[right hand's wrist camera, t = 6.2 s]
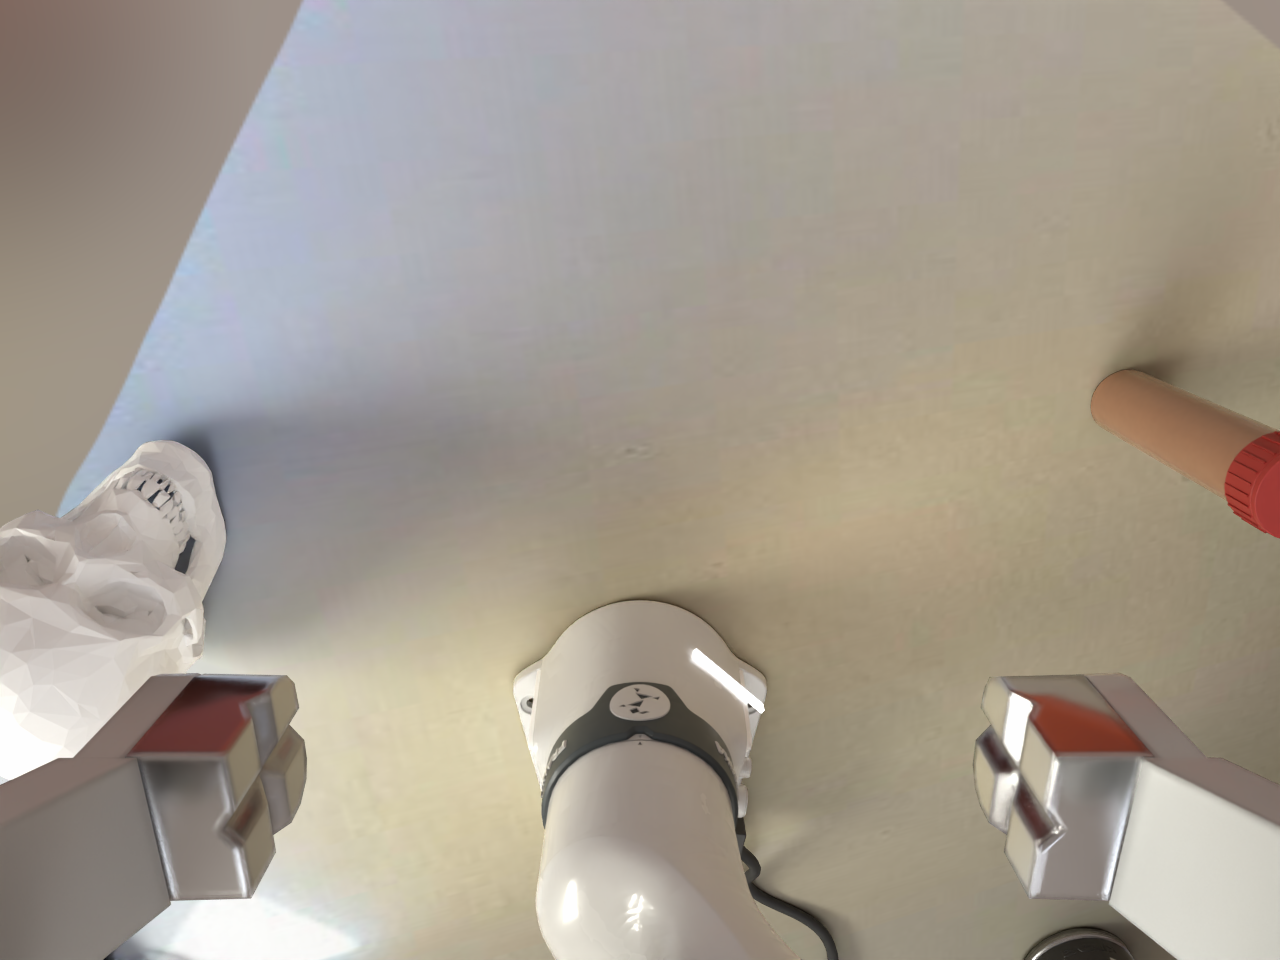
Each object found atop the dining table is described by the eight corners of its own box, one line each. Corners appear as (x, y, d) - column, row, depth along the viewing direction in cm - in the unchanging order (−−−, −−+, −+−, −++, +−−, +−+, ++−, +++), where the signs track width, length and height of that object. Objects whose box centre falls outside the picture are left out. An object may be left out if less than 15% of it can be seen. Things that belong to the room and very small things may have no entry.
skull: (281, 468, 60) (152, 567, 45) (199, 718, 67) (63, 875, 52) (89, 388, 58) (-111, 463, 44) (25, 652, 65) (-166, 794, 50)
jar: (1092, 438, 59) (1256, 539, 44) (1087, 378, 58) (1255, 460, 42) (1157, 423, 59) (1346, 520, 43) (1154, 362, 58) (1348, 439, 42)
